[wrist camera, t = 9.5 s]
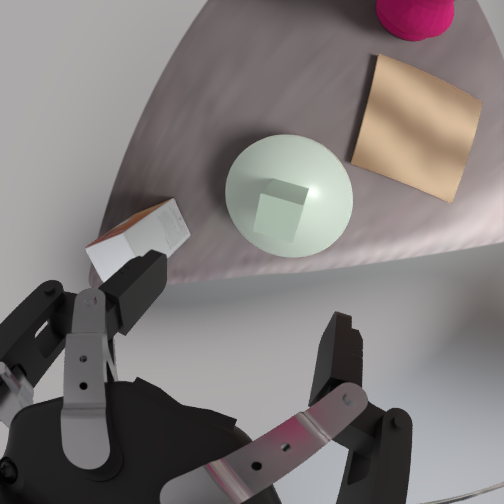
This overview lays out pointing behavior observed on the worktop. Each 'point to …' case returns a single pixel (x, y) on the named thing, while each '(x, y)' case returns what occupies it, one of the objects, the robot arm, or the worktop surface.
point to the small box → (139, 238)
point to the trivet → (416, 128)
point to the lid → (289, 195)
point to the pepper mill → (415, 17)
